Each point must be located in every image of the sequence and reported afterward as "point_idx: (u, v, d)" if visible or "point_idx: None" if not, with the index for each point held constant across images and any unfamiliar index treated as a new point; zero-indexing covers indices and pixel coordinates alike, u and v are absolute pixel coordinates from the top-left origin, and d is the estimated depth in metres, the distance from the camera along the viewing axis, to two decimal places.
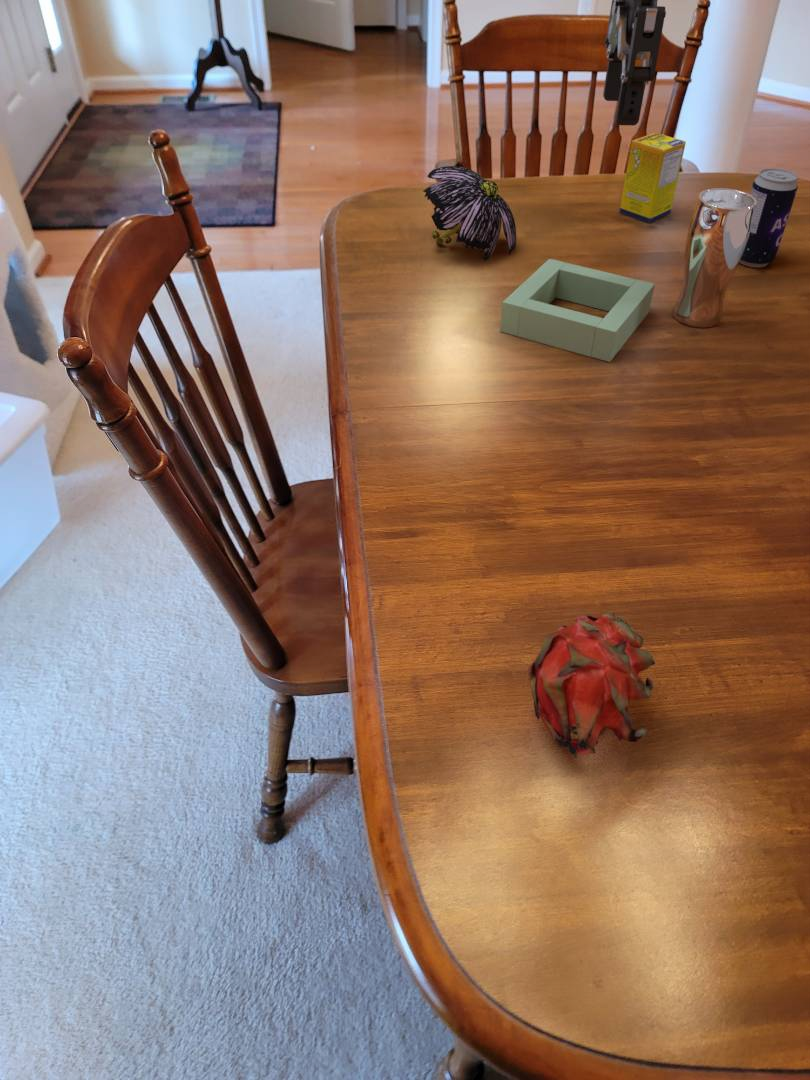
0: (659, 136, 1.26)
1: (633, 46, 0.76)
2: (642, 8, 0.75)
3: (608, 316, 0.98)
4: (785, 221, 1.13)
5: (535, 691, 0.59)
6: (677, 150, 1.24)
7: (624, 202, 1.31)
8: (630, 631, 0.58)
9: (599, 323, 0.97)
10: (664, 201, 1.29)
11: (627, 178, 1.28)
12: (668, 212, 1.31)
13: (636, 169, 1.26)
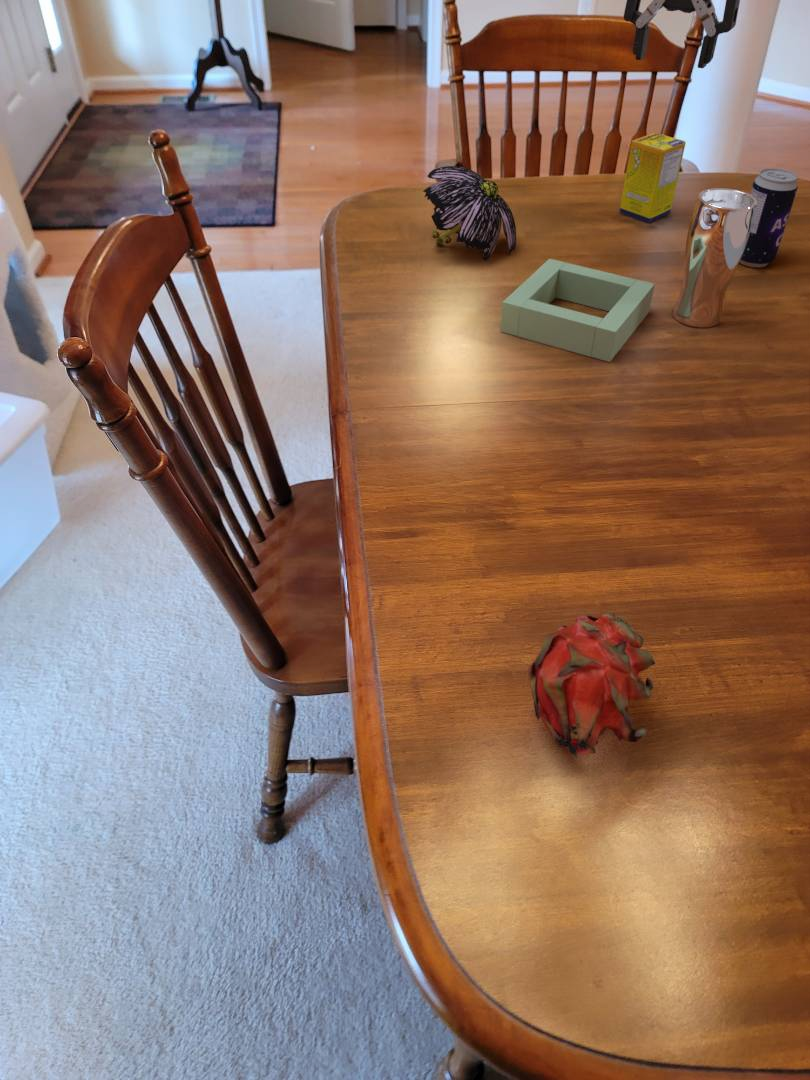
0: (659, 136, 1.26)
1: (734, 6, 1.05)
2: None
3: (608, 316, 0.98)
4: (785, 221, 1.13)
5: (535, 691, 0.59)
6: (676, 150, 1.24)
7: (624, 202, 1.30)
8: (630, 631, 0.58)
9: (599, 323, 0.97)
10: (664, 201, 1.29)
11: (627, 178, 1.28)
12: (668, 212, 1.31)
13: (635, 169, 1.26)
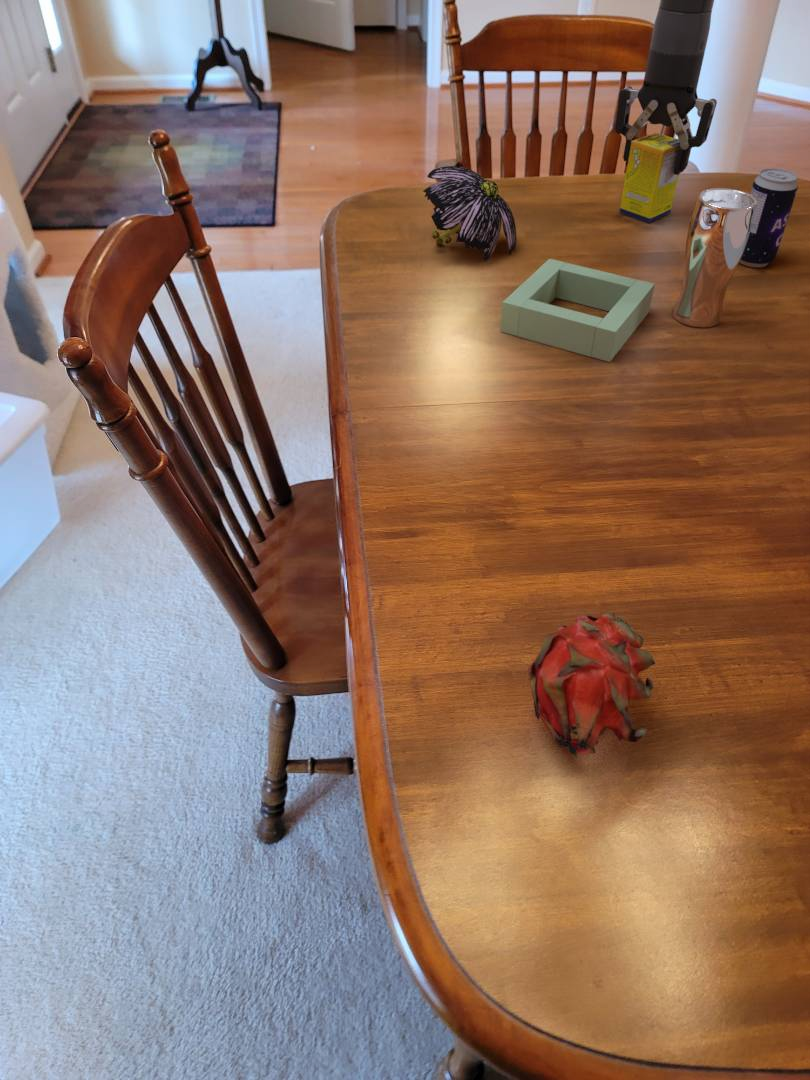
0: (659, 136, 1.26)
1: (706, 126, 1.19)
2: (711, 103, 1.18)
3: (608, 316, 0.98)
4: (785, 221, 1.13)
5: (535, 691, 0.59)
6: (676, 150, 1.24)
7: (624, 202, 1.30)
8: (630, 631, 0.58)
9: (599, 323, 0.97)
10: (664, 201, 1.29)
11: (627, 178, 1.28)
12: (668, 212, 1.31)
13: (635, 169, 1.26)
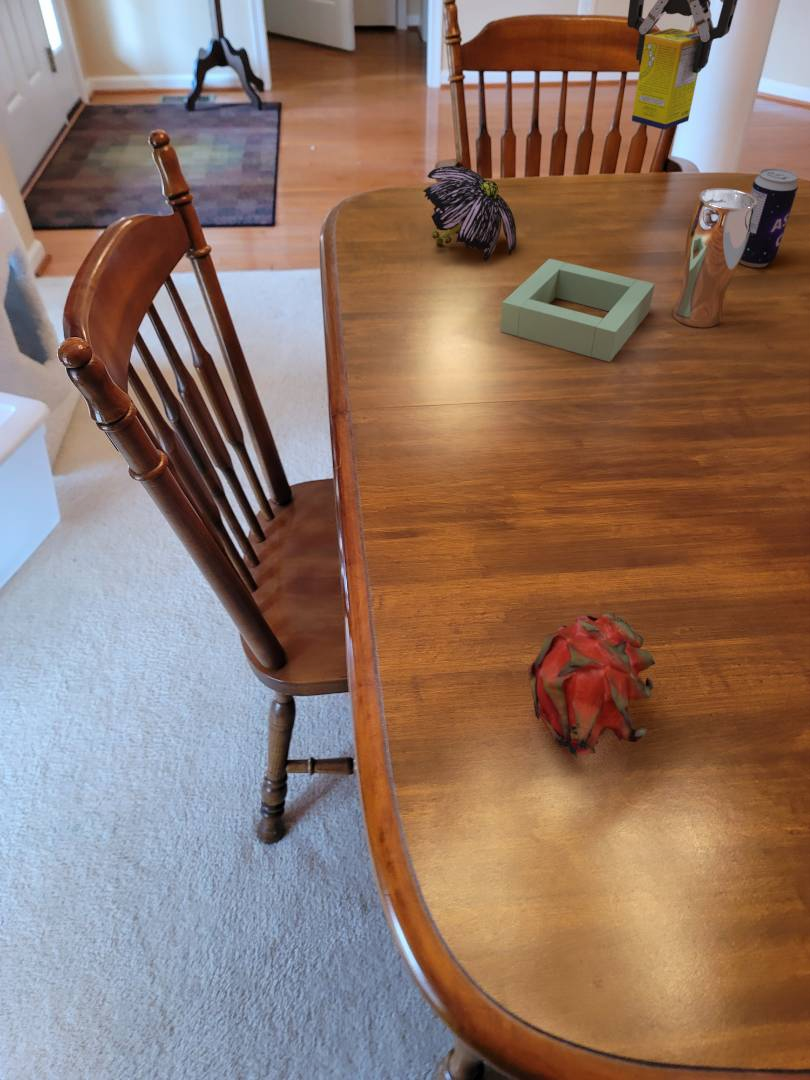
0: (676, 30, 1.14)
1: (729, 12, 1.07)
2: None
3: (608, 316, 0.98)
4: (785, 221, 1.13)
5: (535, 691, 0.59)
6: (696, 44, 1.11)
7: (637, 108, 1.18)
8: (630, 631, 0.58)
9: (599, 323, 0.97)
10: (681, 105, 1.16)
11: (640, 79, 1.16)
12: (686, 119, 1.18)
13: (650, 67, 1.14)
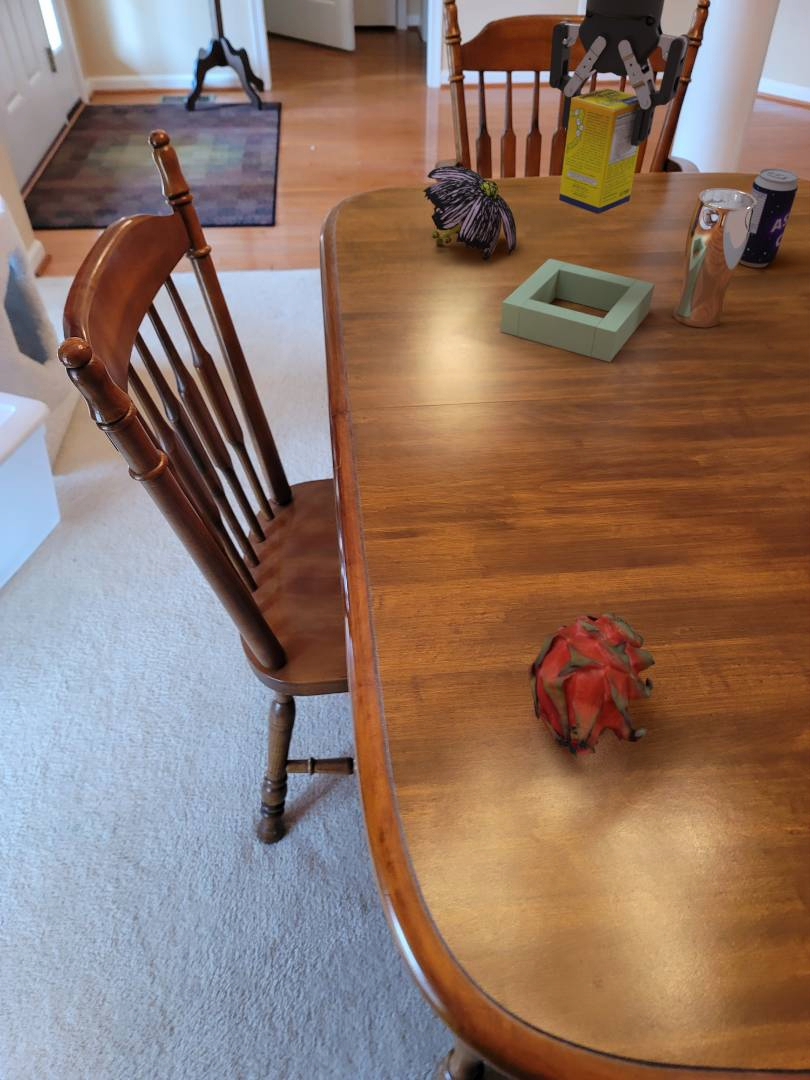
0: (611, 91, 0.90)
1: (674, 74, 0.83)
2: (681, 40, 0.81)
3: (608, 316, 0.98)
4: (785, 221, 1.13)
5: (535, 691, 0.59)
6: (634, 111, 0.88)
7: (565, 185, 0.94)
8: (630, 631, 0.58)
9: (599, 323, 0.97)
10: (619, 184, 0.92)
11: (567, 152, 0.92)
12: (626, 199, 0.95)
13: (578, 138, 0.90)
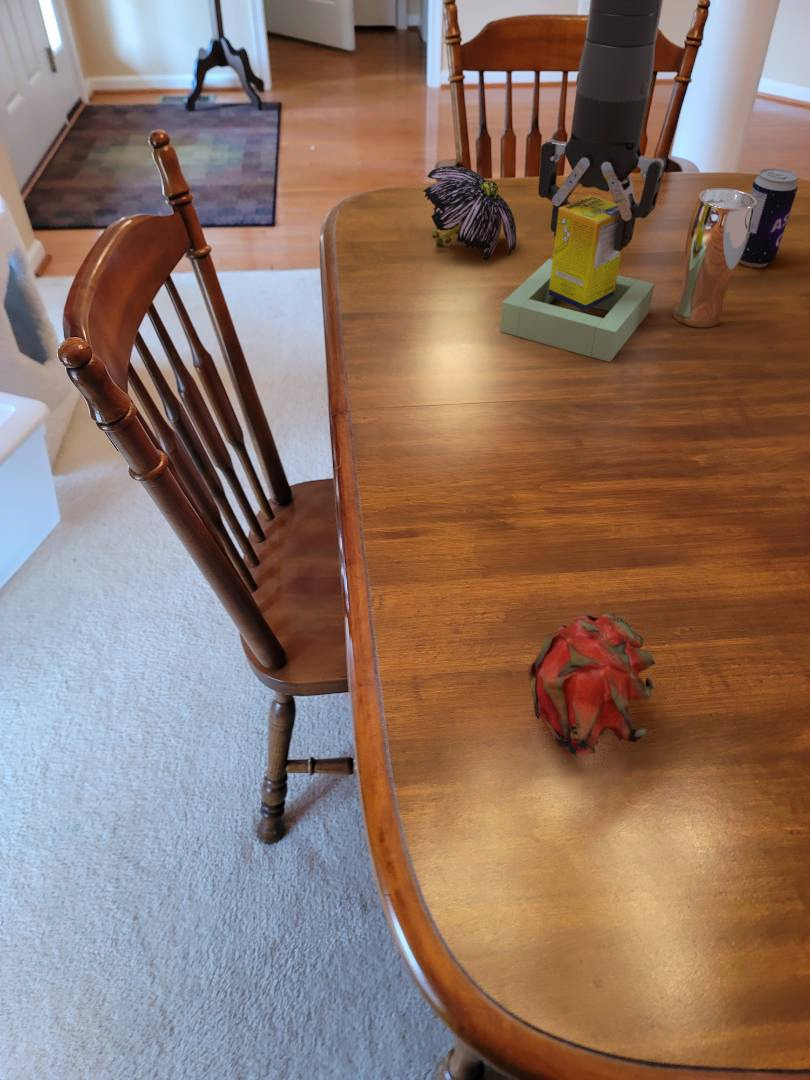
0: (595, 200, 0.97)
1: (653, 192, 0.91)
2: (658, 163, 0.89)
3: (608, 316, 0.98)
4: (785, 221, 1.13)
5: (535, 691, 0.59)
6: (617, 220, 0.95)
7: (553, 283, 1.02)
8: (630, 631, 0.58)
9: (599, 323, 0.97)
10: (603, 283, 1.00)
11: (556, 254, 0.99)
12: (610, 295, 1.02)
13: (565, 243, 0.98)
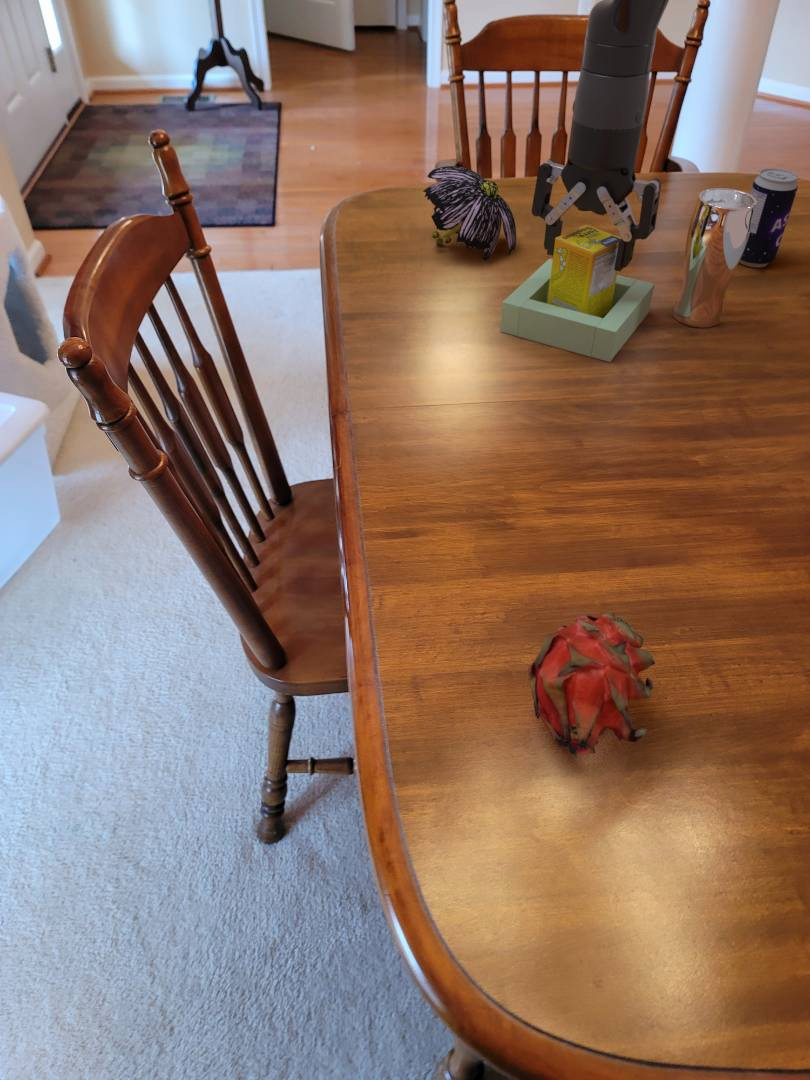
0: (591, 230, 1.00)
1: (650, 214, 0.92)
2: (653, 185, 0.90)
3: (608, 316, 0.98)
4: (785, 221, 1.13)
5: (535, 691, 0.59)
6: (612, 251, 0.98)
7: None
8: (630, 631, 0.58)
9: (599, 323, 0.97)
10: (598, 310, 1.02)
11: (552, 282, 1.02)
12: None
13: (561, 272, 1.00)
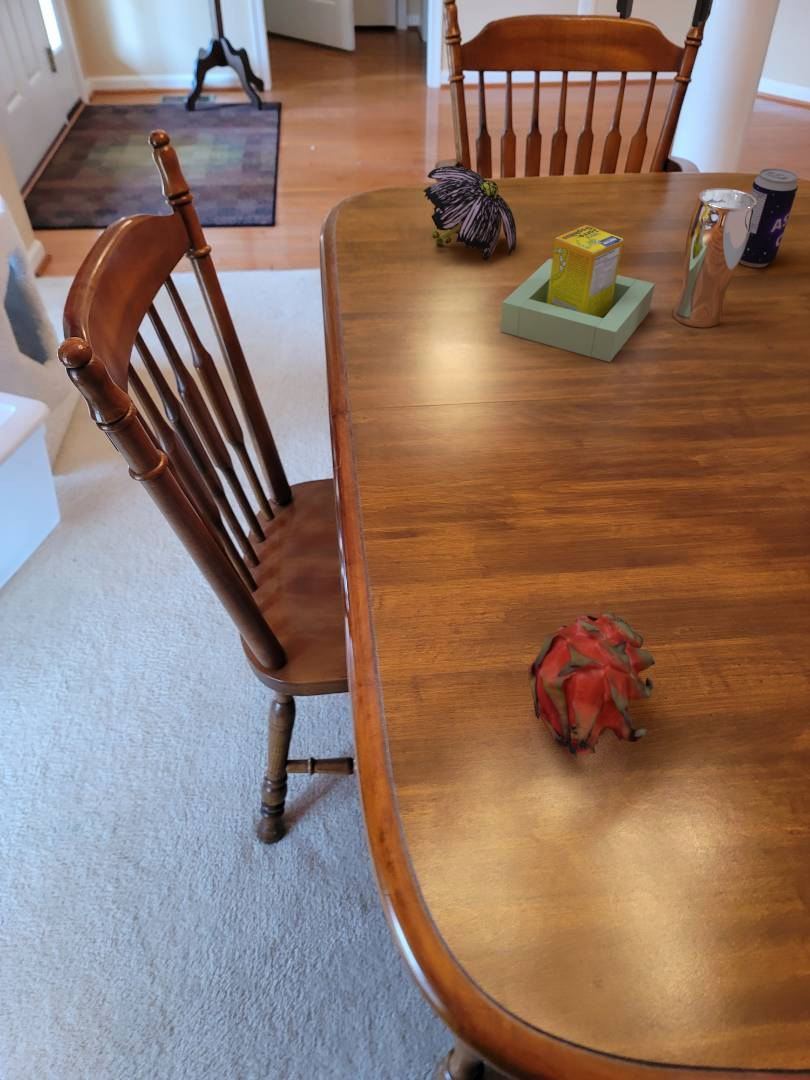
0: (591, 230, 1.00)
1: None
2: None
3: (608, 316, 0.98)
4: (785, 221, 1.13)
5: (535, 691, 0.59)
6: (611, 251, 0.98)
7: None
8: (630, 631, 0.58)
9: (599, 323, 0.97)
10: (598, 310, 1.02)
11: (552, 282, 1.02)
12: None
13: (561, 272, 1.00)
